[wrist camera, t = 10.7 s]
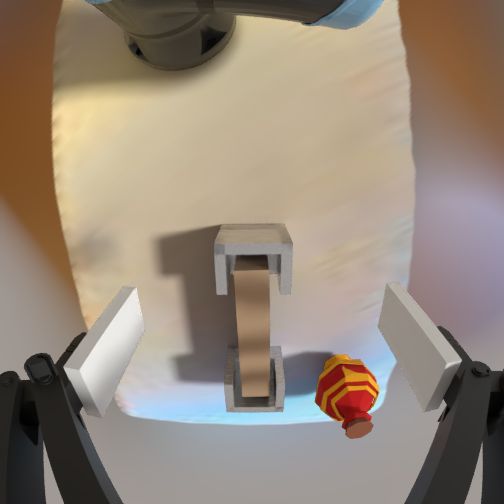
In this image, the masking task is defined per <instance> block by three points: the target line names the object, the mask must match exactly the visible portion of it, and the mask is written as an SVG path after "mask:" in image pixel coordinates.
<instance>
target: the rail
mask: <svg viewBox="0 0 504 504" xmlns="http://www.w3.org/2000/svg"><path fill="white" fill-rule="evenodd" d="M234 286H235V302H236V317H237V332H238V346H239V360H240V373H241V386H242V397H260V396H270V300H269V265H268V257H267V255H257V256H236V259H235V265H234Z"/></svg>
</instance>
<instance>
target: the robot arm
mask: <svg viewBox="0 0 504 504" xmlns="http://www.w3.org/2000/svg"><path fill="white" fill-rule="evenodd" d="M85 1H86V2H88V3H91V4H92V5H93V6H95V7H96V8H98V9H99V10H100V11H102V12H103V13H104V14H106V15H107V16H108V17H109V18H111V19H112V20H113V21H115V22H116V23H117V24H119V25H120V26H121V27H122V28H123V30H124V35H125V40H126V43H127V45H128V47H129V49H130V50H131V52H132V53H133V54H134V55H135V56H136V57H137V58H139V59H140V60H141V61H143V62H144V63H145V64H147V65H149V66H151V67H154V68H157V69H161V70H183V69H187V68H191V67H194V66H197V65H199V64H202V63H204V62H206V61H207V60H209V59H211V58H212V57H214V56H215V55H216V54H217V53H219V52H220V51H221V50H222V49H223V48H224V46H225V45H226V44H227V43H228V41H229V40H230V38H231V36H232V34H233V32H234V29H235V24H236V15H240V16H253V17H264V18H273V19H281V20H288V21H295V22H301V24H303V25H306V26H316V25H318V26H324V27H330V28H335V29H345V30H346V29H350V28H353V27H357V26H360V25H361V24H363V23H364V22H366V21H367V20H368V19H369V18H370V17H371V16H372V15H373V14H374V13H375V12H376V11H377V9H378V8H379V7H380V5H381V4H382V2H383V1H384V0H85ZM378 328H379V330H380V331H381V333H382V335H383V337H384V338H385V340H386V342H387V344H388V345H389V347H390V349H391V351H392V353H393V354H394V356H395V358H396V360H397V362H398V364H399V365H400V367H401V369H402V371H403V373H404V375H405V377H406V378H407V380H408V382H409V384H410V386H411V388H412V390H413V392H414V394H415V395H416V398H417V400H418V402H419V404H420V405H421V408H422V410H423V412H427V411H431V410H434V409H438V408H439V406H440V404H441V402H442V400H443V399H444V401H445V402H446V404H447V406H446V407H445V409H444V411H443V413H442V415H441V416H440V418H439V420H438V422H440V423H439V426H438V429H437V432H436V434H435V437H434V440H433V443H432V445H431V447H430V450H429V453H428V455H427V457H426V460H425V462H424V464H423V466H422V469H421V471H420V473H419V475H418V478H417V479H416V482H415V484H414V486H413V488H412V490H411V492H410V494H409V496H408V498H407V499H406V501H405V503H404V504H464V503H465V500H466V497H467V494H468V491H469V488H470V485H471V482H472V478H473V475H474V472H475V468H476V464H477V461H478V457H479V452H480V448H481V444H482V442H483V482H482V499H481V504H504V369H503V371H491V370H490V368H489V367H488V366H487V365H486V364H484V363H482V362H478V361H474V362H473V361H472V360H471V359H470V358H469V356H468V355H467V353H466V352H465V351H464V350H463V348H462V347H461V346H460V345H458V342H457V341H456V340H455V339H454V337H453V336H452V335H451V334H450V332H449V331H447V330H446V329H444V328H443V327H441V326H438V327H436V326H435V325H434V323H433V322H432V321H431V320H430V319H429V317H428V316H427V315H426V314H425V312H424V311H423V310H422V309H421V308H420V306H418V304H417V303H416V302H415V301H414V299H413V298H412V297H411V296H410V295H409V294H408V292H407V291H406V290H405V289H404V288H403V287H402V286H401V284H400V283H387V284H386V289H385V295H384V300H383V305H382V310H381V314H380V319H379V324H378ZM144 332H145V327H144V322H143V318H142V313H141V309H140V304H139V299H138V294H137V289H136V287H122V289H121V290H120V291H119V293H118V294H117V295H116V296H115V298H114V299H113V300H112V301H111V303H110V304H109V305H108V307H107V308H106V309H105V310H104V312H103V313H102V314H101V316H100V317H99V318H98V320H97V321H96V322H95V324H94V325H93V326H92V328H91V329H90V330H89V332H88V333H85V332H84V333H81V334H80V335H78V336H77V337H75V338H74V340H73V341H72V342H71V344H70V346H68V348H67V349H66V351H65V352H64V353H63V354H62V356H61V357H60V358H59V360H58V361H57V363H56V364H54V362H53V360H52V358H51V356H50V355H48V354H46V353H39V354H35V355H33V356H31V357H30V358H29V359H27V361H26V362H25V364H24V369H25V371H26V372H27V375H28V377H29V378H30V380H21V379H20V378H19V376H18V374H17V373H16V372H14V371H7V372H4V373H2V374H1V375H0V504H46V498H45V486H44V464H43V463H44V462H43V440H44V443H45V447H46V451H47V454H48V458H49V461H50V465H51V468H52V471H53V474H54V477H55V480H56V482H57V486H58V488H59V491H60V494H61V496H62V499H63V502H64V504H123V502H122V501H121V499H120V497H119V495H118V494H117V492H116V490H115V488H114V486H113V484H112V482H111V480H110V479H109V477H108V475H107V473H106V471H105V469H104V467H103V465H102V463H101V461H100V458H99V456H98V454H97V452H96V450H95V447H94V445H93V443H92V440H91V438H90V436H89V433H88V431H87V428H86V426H85V423H84V421H83V418H82V416H81V414H80V413H79V412H80V410H81V408H82V406H83V407H84V409H85V411H86V413H87V415H91V416H95V417H99V418H103V417H104V414H105V412H106V410H107V408H108V406H109V403H110V401H111V399H112V397H113V395H114V393H115V391H116V388H117V386H118V384H119V382H120V380H121V378H122V376H123V374H124V372H125V370H126V368H127V366H128V364H129V362H130V360H131V357H132V355H133V353H134V351H135V349H136V347H137V345H138V343H139V342H140V340H141V338H142V336H143V334H144Z"/></svg>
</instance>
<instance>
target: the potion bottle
mask: <svg viewBox="0 0 504 504" xmlns="http://www.w3.org/2000/svg"><path fill="white" fill-rule="evenodd" d="M363 365H364V364H363V362H362V361H361V360H351V359H350V358H349V357H348V356H347V355H334V356H333V357H331V358H330V359H329V360H327V361H326V362H325V365H324V370H323V373H321V374H320V375H319V380H318V385H317V391H316V397H315V403H316V404H317V405H318V406H319V407H320V409H321V410H322V411H323V412H324V413H325V414H327V415H328V416H329V417H331V418H332V419H334V420H335V421H337V422H340V421H343V424H342V428H344V429H345V430H346V434H345V435H346V436H347V437H349V438H350V439H353V438H360V437H363V436H364V435H366V434H368V433H369V432H371V430H372V428H373V424H372V423H371V422H370V420H371V418H372V417H371V416H370V415H369V414H368V413H367V412H368V411H370V410H371V408H372V407H374V404H375V402H376V399H377V397H378V394H379V386H378V385H377V383H376V379H375V376H374V375H373V374H372V373H371V372H370V370H369V369H368V368H367V367H366V366H365V365H364V366H365V367H366V368H367V369H366V368H365V367H364V366H363ZM376 390H377V391H376ZM374 397H375V398H374ZM373 398H374V400H373ZM372 401H373V403H372ZM371 403H372V404H371Z"/></svg>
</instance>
